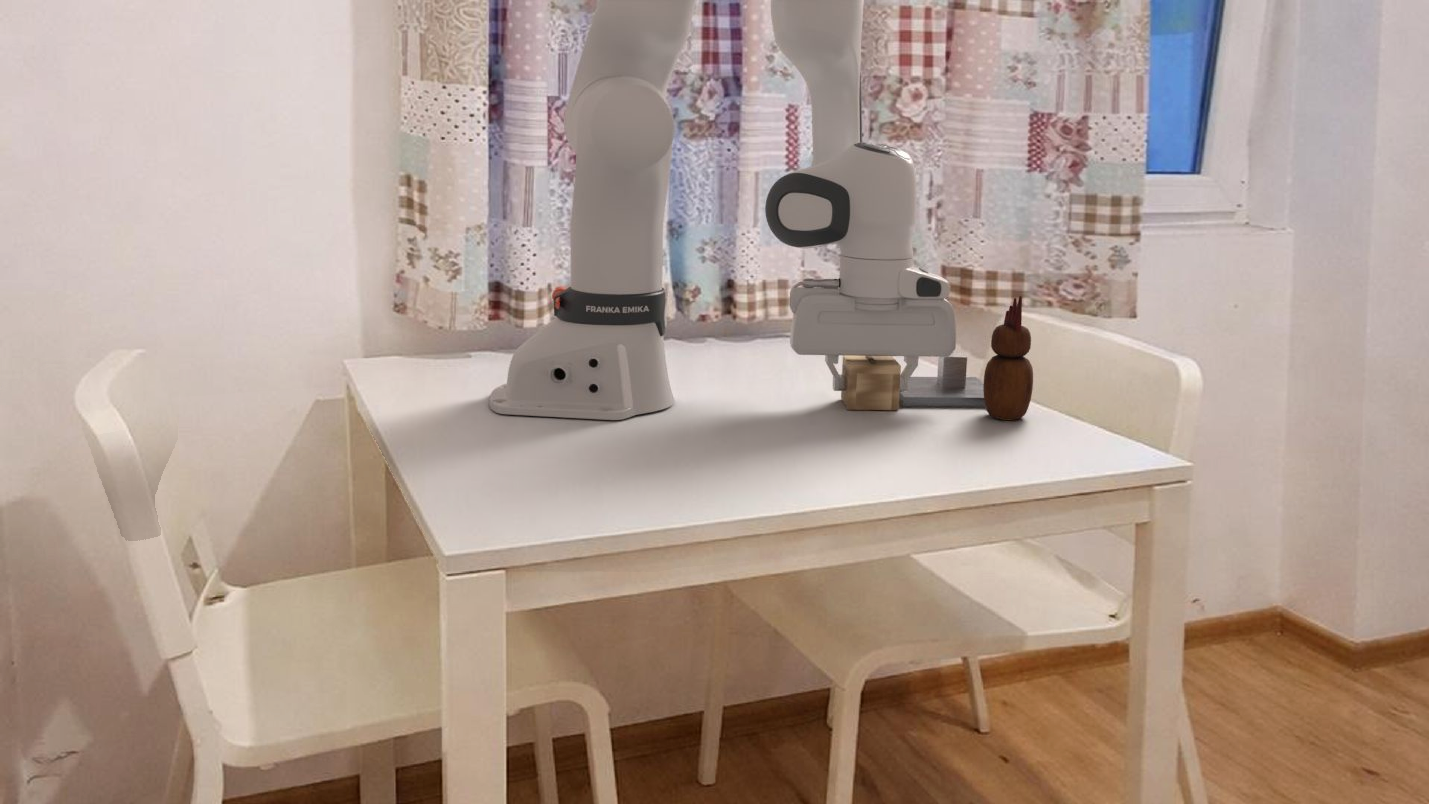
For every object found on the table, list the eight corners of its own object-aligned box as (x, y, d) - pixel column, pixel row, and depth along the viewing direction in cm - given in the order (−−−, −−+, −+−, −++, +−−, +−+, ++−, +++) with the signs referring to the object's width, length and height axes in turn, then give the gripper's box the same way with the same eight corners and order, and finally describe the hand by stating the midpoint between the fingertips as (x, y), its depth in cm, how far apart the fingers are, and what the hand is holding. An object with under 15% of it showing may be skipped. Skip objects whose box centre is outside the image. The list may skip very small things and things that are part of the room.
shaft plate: (903, 406, 163) (905, 365, 162) (886, 385, 175) (888, 346, 174) (998, 407, 164) (1001, 366, 163) (975, 386, 176) (977, 347, 174)
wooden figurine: (1031, 425, 155) (1040, 299, 152) (981, 422, 156) (989, 296, 153) (1029, 412, 162) (1038, 290, 158) (981, 409, 163) (989, 288, 159)
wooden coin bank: (848, 409, 161) (850, 363, 159) (840, 397, 167) (842, 353, 165) (898, 410, 161) (901, 364, 160) (889, 398, 167) (891, 354, 166)
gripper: (793, 281, 157) (789, 395, 160) (963, 284, 158) (955, 397, 161) (787, 274, 163) (783, 383, 166) (951, 277, 164) (944, 385, 167)
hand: (869, 390), depth 163 cm, fingers closed on wooden coin bank, 6 cm apart
